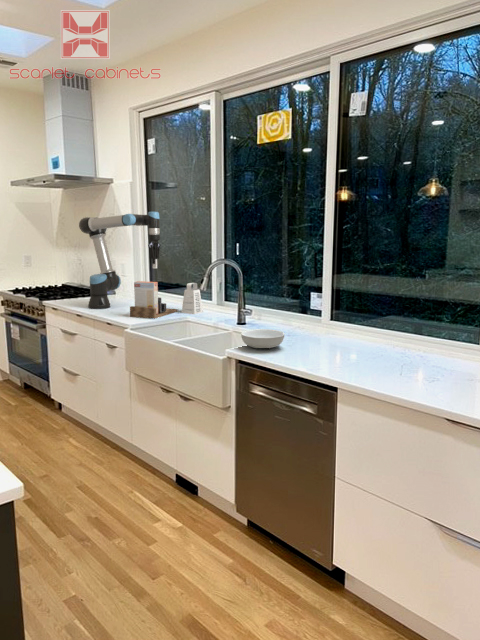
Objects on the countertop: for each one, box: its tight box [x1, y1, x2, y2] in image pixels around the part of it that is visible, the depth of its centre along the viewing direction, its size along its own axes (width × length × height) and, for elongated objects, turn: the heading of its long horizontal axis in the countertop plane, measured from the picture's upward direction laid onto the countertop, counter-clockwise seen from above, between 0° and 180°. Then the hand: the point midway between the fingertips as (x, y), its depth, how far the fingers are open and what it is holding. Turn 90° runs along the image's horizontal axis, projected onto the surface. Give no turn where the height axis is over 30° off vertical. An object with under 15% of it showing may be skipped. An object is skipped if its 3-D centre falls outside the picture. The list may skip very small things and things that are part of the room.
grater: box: [181, 282, 204, 315], centre depth 320 cm, size 10×10×20 cm
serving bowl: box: [240, 328, 285, 349], centre depth 228 cm, size 21×21×7 cm
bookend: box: [158, 296, 167, 313], centre depth 313 cm, size 14×10×10 cm
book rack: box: [129, 305, 179, 320], centre depth 314 cm, size 18×31×6 cm, turn 159°
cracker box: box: [133, 280, 159, 314], centre depth 304 cm, size 14×6×21 cm, turn 75°
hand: (155, 268), depth 333 cm, fingers closed
